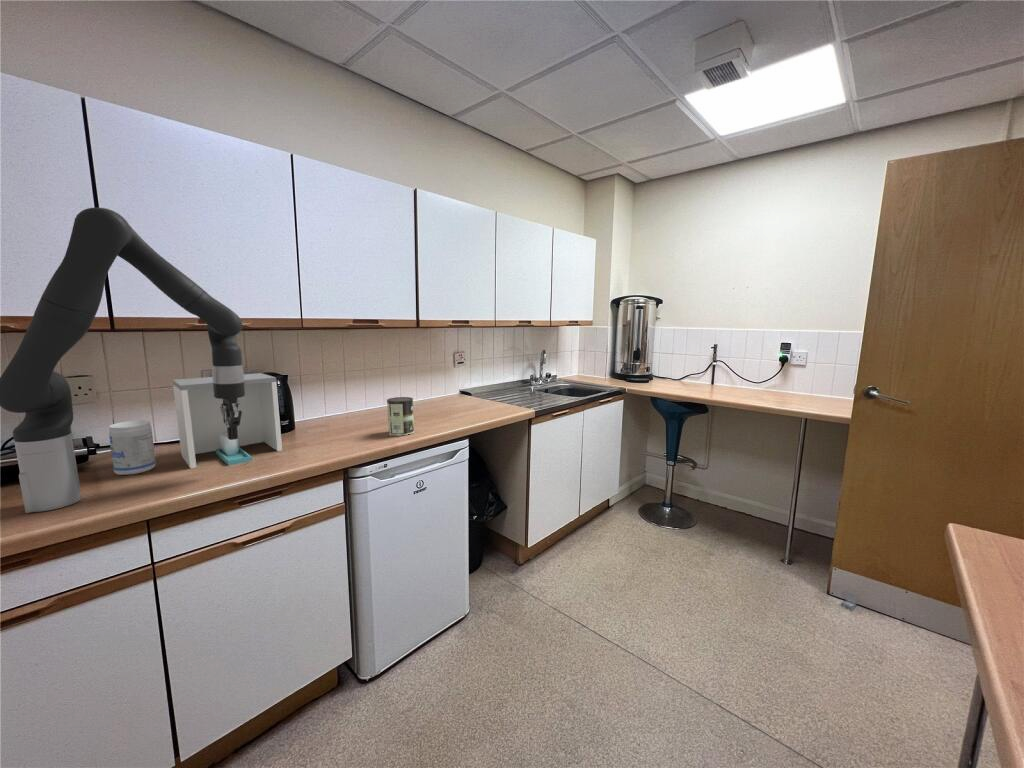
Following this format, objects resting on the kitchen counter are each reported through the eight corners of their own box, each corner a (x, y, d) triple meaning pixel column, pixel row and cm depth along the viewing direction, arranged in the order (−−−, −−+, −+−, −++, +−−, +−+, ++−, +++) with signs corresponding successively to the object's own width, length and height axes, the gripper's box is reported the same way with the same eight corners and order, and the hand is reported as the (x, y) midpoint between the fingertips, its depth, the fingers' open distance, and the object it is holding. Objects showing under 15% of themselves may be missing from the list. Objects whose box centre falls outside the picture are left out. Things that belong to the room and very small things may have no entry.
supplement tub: (105, 475, 123) (98, 426, 121) (138, 464, 132) (131, 419, 130) (133, 476, 121) (127, 428, 119) (164, 465, 131) (158, 420, 129)
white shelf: (190, 468, 128) (180, 385, 124) (181, 455, 141) (172, 379, 137) (282, 450, 146) (276, 377, 143) (267, 440, 159) (261, 373, 155)
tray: (252, 461, 135) (249, 439, 134) (228, 466, 131) (226, 443, 130) (237, 450, 148) (235, 429, 147) (216, 454, 143) (213, 433, 142)
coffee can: (412, 428, 176) (411, 396, 174) (416, 434, 167) (414, 400, 165) (387, 431, 172) (385, 397, 170) (389, 437, 163) (388, 402, 161)
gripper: (250, 382, 118) (254, 441, 121) (237, 377, 127) (241, 432, 129) (219, 384, 113) (223, 446, 115) (207, 379, 122) (212, 436, 124)
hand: (232, 438), depth 122 cm, fingers closed
